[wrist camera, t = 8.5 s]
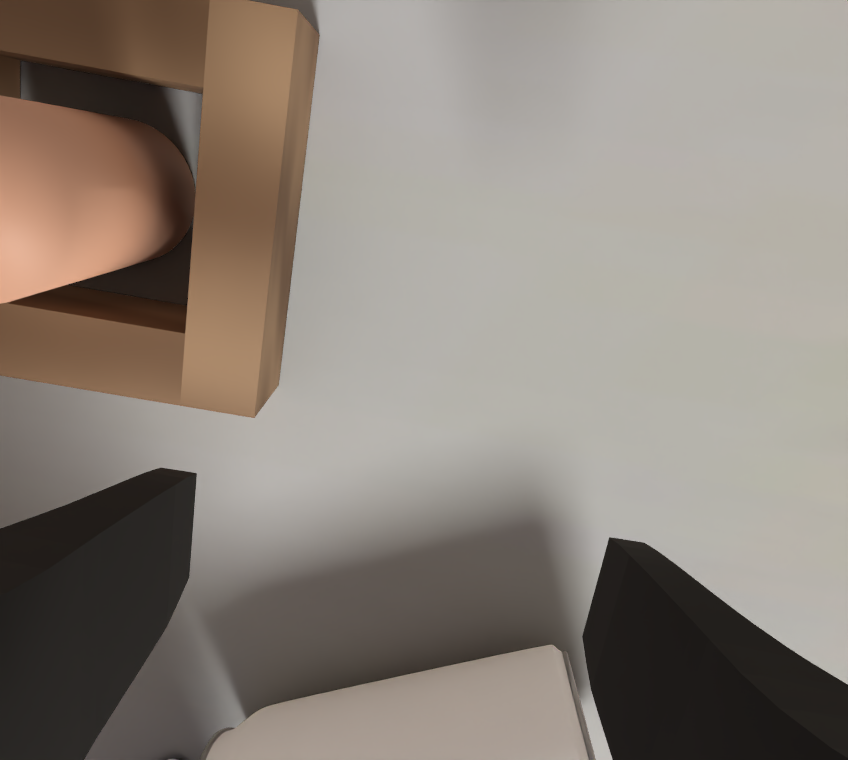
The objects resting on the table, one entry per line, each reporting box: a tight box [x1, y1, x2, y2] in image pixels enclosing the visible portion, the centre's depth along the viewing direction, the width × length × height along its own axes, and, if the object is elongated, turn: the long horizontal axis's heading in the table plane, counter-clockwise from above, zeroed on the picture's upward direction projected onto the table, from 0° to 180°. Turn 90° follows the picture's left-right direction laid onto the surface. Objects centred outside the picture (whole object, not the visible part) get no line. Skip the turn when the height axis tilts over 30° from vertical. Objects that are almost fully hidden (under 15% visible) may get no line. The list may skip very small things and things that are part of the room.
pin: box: [0, 95, 195, 304], centre depth 16 cm, size 4×4×7 cm
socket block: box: [0, 0, 320, 418], centre depth 18 cm, size 10×10×3 cm
